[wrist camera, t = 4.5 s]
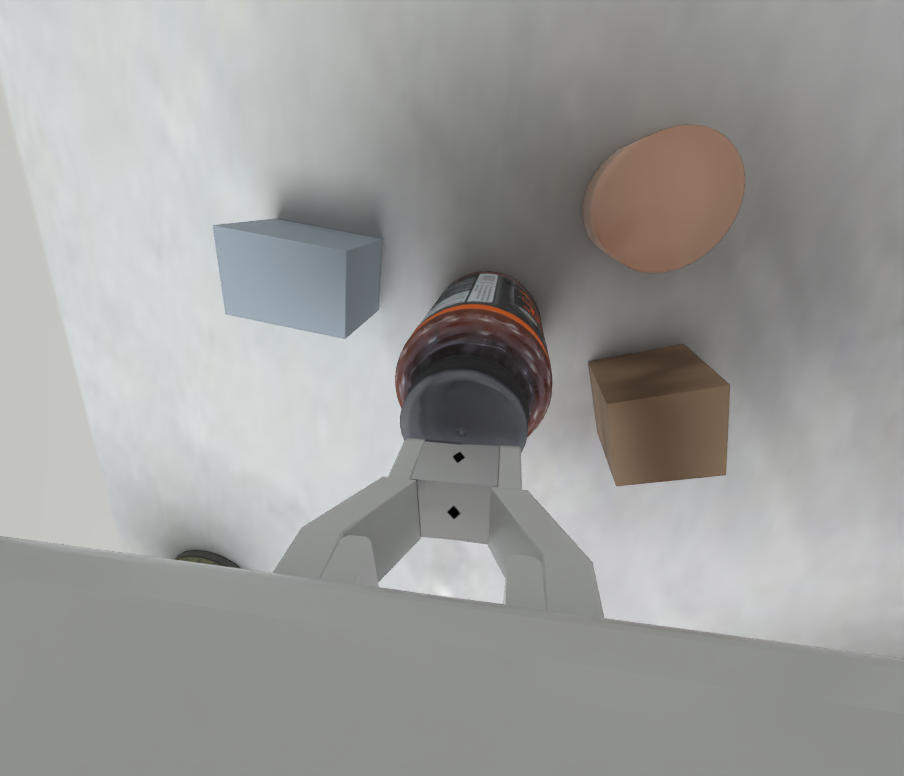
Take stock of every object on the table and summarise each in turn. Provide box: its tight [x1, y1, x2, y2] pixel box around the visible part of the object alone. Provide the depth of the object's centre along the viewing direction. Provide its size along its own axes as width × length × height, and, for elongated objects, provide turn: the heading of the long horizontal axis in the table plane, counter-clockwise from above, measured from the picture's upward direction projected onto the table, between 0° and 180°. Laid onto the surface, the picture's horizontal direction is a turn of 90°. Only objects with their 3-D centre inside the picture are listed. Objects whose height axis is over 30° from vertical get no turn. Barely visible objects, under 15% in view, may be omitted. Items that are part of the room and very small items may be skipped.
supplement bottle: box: [395, 271, 552, 472], centre depth 16 cm, size 6×6×11 cm
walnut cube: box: [588, 344, 730, 486], centre depth 20 cm, size 5×5×5 cm
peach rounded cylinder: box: [583, 125, 745, 273], centre depth 16 cm, size 5×5×4 cm
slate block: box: [213, 219, 383, 339], centre depth 19 cm, size 6×4×5 cm, turn 82°
